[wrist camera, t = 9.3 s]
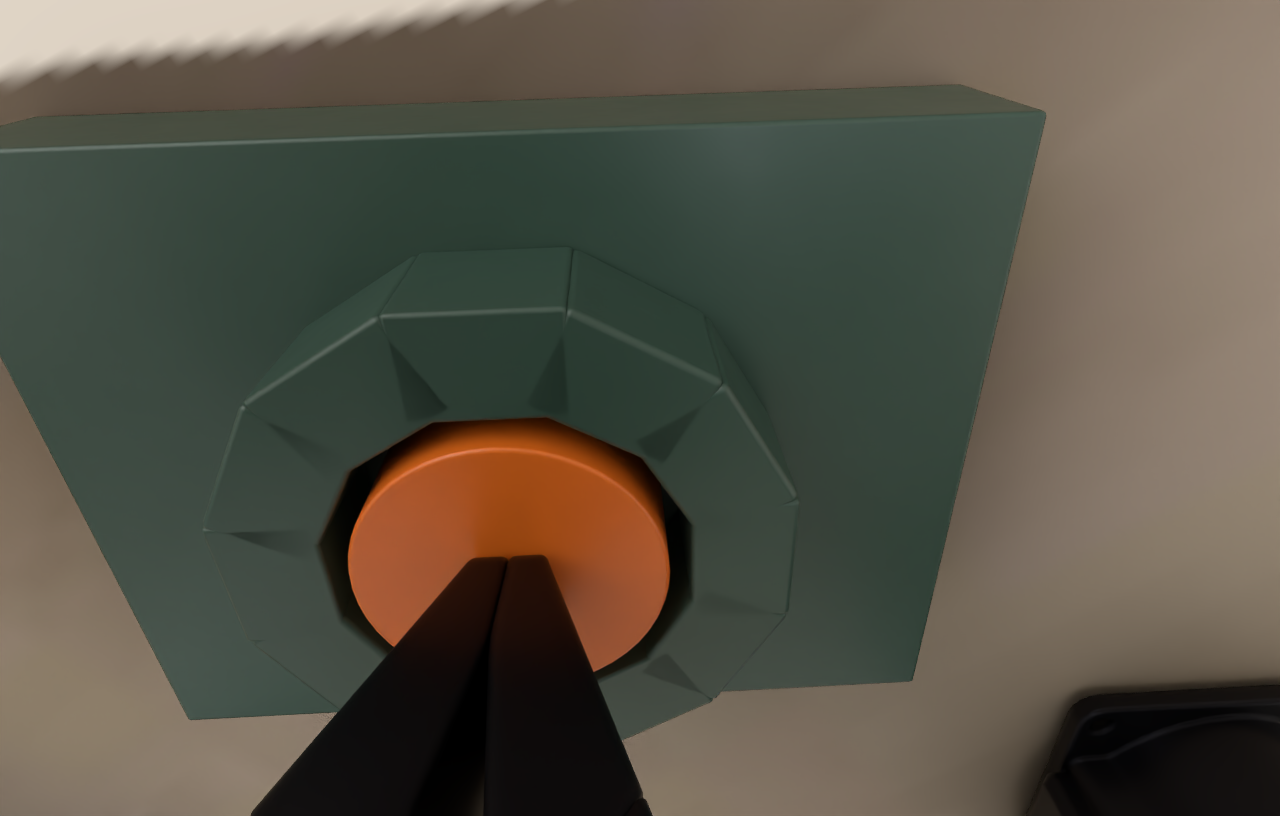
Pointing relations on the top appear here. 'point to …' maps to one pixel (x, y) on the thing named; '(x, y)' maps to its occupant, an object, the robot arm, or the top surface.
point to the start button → (514, 525)
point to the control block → (518, 356)
